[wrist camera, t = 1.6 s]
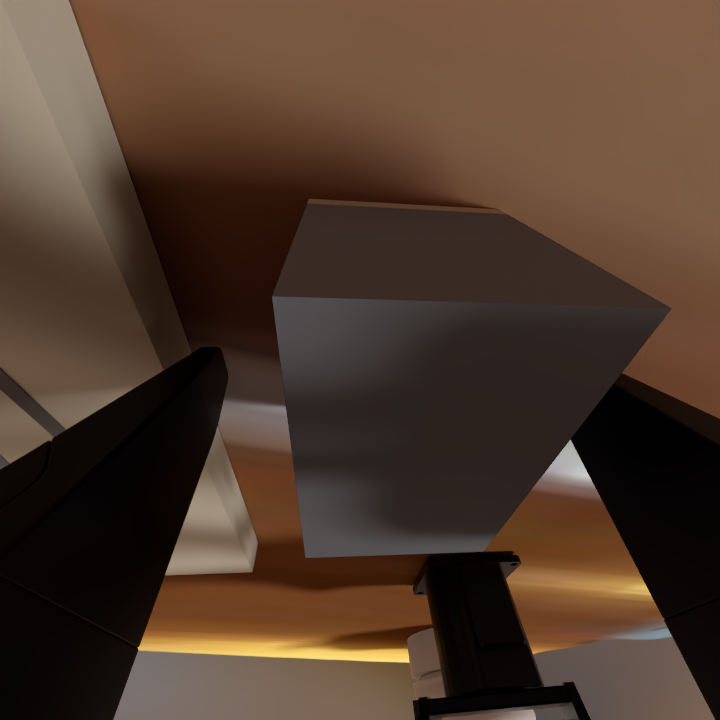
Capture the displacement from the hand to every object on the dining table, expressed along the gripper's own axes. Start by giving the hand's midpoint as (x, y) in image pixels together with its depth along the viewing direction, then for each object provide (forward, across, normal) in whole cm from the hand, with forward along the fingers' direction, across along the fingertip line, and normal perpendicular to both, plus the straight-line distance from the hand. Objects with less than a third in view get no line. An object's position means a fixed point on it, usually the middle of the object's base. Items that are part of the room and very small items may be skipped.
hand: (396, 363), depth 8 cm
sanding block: (+2, 0, 0) cm, 2 cm away
